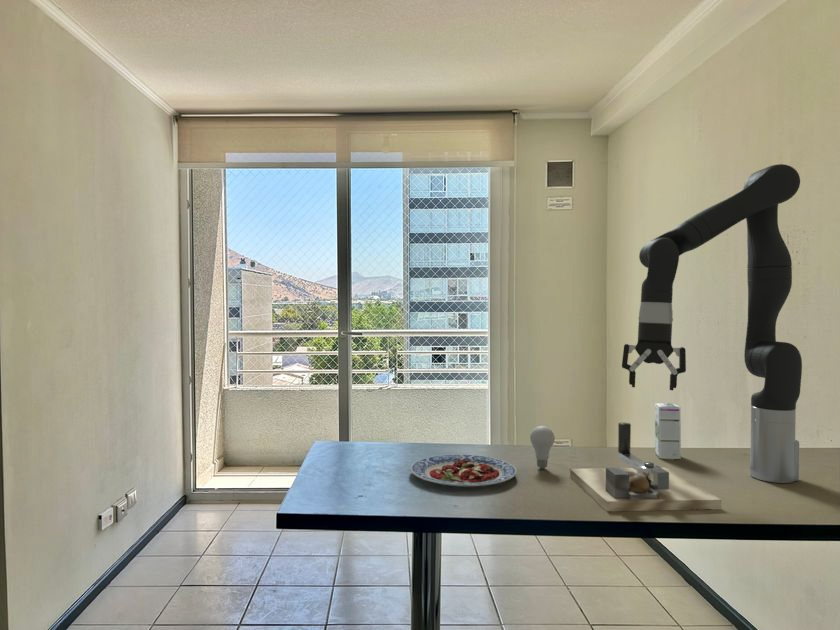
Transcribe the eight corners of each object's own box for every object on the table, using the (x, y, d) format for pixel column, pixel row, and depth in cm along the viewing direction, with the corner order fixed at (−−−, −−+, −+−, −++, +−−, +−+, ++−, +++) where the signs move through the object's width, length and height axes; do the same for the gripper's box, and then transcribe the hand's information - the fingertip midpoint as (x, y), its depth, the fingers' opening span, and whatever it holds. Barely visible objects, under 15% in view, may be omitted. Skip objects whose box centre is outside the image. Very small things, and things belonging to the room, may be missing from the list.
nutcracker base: (665, 475, 139) (666, 447, 139) (721, 509, 116) (721, 475, 116) (570, 476, 138) (570, 448, 137) (606, 511, 115) (607, 477, 114)
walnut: (643, 491, 121) (644, 472, 121) (652, 497, 117) (652, 478, 117) (625, 491, 121) (625, 472, 121) (633, 497, 117) (634, 478, 117)
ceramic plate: (458, 457, 156) (458, 446, 156) (537, 477, 138) (537, 465, 138) (388, 476, 138) (388, 464, 138) (468, 502, 120) (468, 488, 120)
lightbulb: (556, 467, 146) (556, 424, 146) (551, 473, 140) (551, 429, 140) (533, 464, 148) (533, 422, 148) (527, 470, 143) (527, 427, 143)
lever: (631, 461, 139) (632, 422, 139) (674, 489, 118) (675, 443, 118) (611, 462, 138) (612, 422, 138) (651, 489, 118) (652, 443, 117)
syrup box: (681, 460, 153) (682, 406, 153) (658, 458, 154) (658, 405, 154) (676, 454, 159) (676, 403, 158) (653, 453, 160) (654, 402, 160)
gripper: (686, 323, 138) (682, 389, 138) (624, 320, 143) (620, 384, 143) (689, 323, 131) (685, 393, 131) (624, 320, 136) (620, 387, 135)
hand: (652, 388), depth 137 cm, fingers open, 8 cm apart
